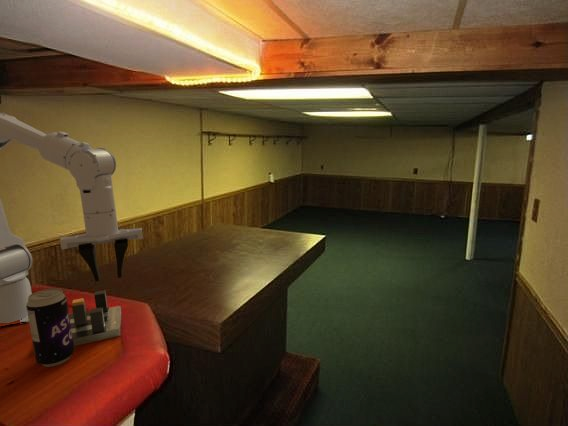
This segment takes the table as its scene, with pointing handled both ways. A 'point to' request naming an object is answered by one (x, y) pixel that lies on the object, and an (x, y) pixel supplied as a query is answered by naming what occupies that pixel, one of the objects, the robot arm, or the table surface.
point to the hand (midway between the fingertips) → (108, 278)
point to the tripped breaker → (79, 311)
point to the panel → (99, 336)
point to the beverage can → (50, 327)
